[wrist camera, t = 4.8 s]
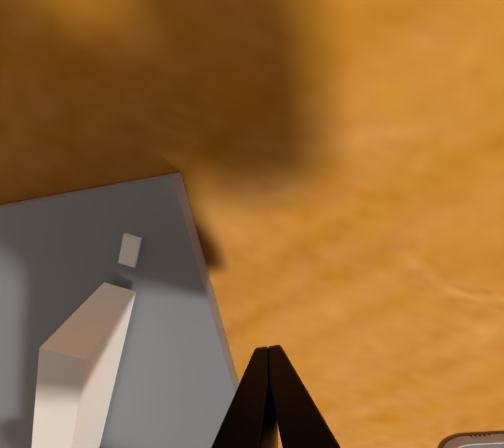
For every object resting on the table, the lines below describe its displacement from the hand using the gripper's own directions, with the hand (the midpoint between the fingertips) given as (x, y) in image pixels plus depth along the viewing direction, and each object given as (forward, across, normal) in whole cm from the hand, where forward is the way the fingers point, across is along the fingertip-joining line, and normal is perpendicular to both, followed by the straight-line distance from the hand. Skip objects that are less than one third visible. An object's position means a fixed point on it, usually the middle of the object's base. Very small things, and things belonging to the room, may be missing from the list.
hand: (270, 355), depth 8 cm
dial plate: (+3, +12, +2) cm, 12 cm away
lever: (+2, +9, +3) cm, 9 cm away
